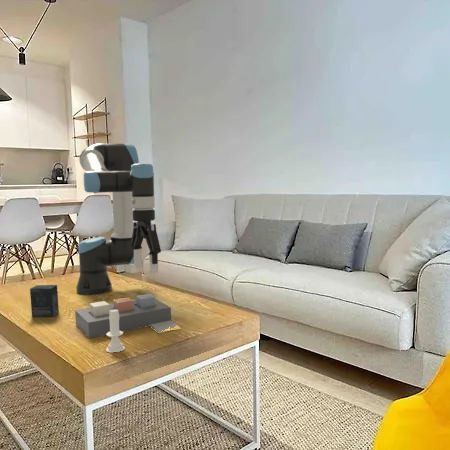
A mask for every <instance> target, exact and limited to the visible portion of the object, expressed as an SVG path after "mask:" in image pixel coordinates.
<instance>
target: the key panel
mask: <svg viewBox="0 0 450 450" xmlns="http://www.w3.org/2000/svg"><path fill="white" fill-rule="evenodd" d="M108 304H109V303H108ZM109 308H110V310H113V309H114V304H113V303H110V304H109ZM74 313H75V315H74V316H75V326H76V327H78V328H79V330H81V332H82V333H83V334H84V335H85V336H86V337H87V338H88V339H93V338H98V337H102V336H107V335H106V334H107V333H108V332H110V320H109V314H106V315H101V316H95V317H93V316H92V315H91V314H90V307H87V308H80V309H75V310H74ZM170 320H172V307H171V306H170V305H168V304H166V303H164V302H162V301H160V300H158V299H156V298H155V306H151V307H145V308H139V307H138V306H136V299H135V300H133V310H128V311H123V312H119V331H122V332H123V333H124V332H128V331H132V330H136V329H141V328H140V327H142V328H146V327H145V326H147V327H150V326H149V325H150V324H155V323H160V322H165V321H170Z"/></svg>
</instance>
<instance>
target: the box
mask: <svg viewBox="0 0 450 450" xmlns="http://www.w3.org/2000/svg"><path fill="white" fill-rule="evenodd" d="M58 293H59V292H58V285H57V284H41V285H40V284H36V285H34V286H33V287H31V288H29V294H30V306H31V308H30V309H31V317H32V318H38V317H40V318H41V317H54V316H55V315H57V314H58V313H60V312H59V311H60V310H59V296H58V295H59V294H58Z"/></svg>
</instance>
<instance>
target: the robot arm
mask: <svg viewBox="0 0 450 450" xmlns="http://www.w3.org/2000/svg"><path fill="white" fill-rule="evenodd" d="M79 164H80V166H81V168H82V169H83V170H84V172H83V188H84V191H85V193H94V194H99V193H112V211H113V212H112V213H113V232H112V234H111V235H110V239H107V238H106V236H105V237H104V236H98V237H92V238H87V239H84V240H82V241H80V242H79V243H78V258H79V259H78V261H79V264H78V265H79V276H78V280H77V285H76V293H78V294H79V295H98V294H99V295H100V294H103V293H107V292H110V291H111V290H112V289H113V284H112V281H111V279H110V277H109V274H108V267H112V266H125V265H127V266H129V265H132V264H133V267H134V269H137V268H143V253H142V252H143V251H142V249H143V247H142V245H143V241H144V239H145V242H146V244H147V248H148V250H149V253H148V255H149V256H148V257H149V258H148V259H149V274H150V275H155V274H158V273H159V259H158V257H159V253H161V252H162V250H161V245H160V241H159V237H158V232H157V226H156V224H155V223H152V221H155V220H156V210H155V209H154V208H155V207H156V205H155V204H156V203H155V183H154V182H155V173H154V166H153V164H151V163H140V161H139V154H138V151H137V148H136V147H135V145H134V144H132V143H103V142H102V143H100V142H99V143H98V142H97V143H94V144H92V145H90V146H87V147H86V148H84V149H83V150H82V151H81V153H80V155H79ZM112 291H113V290H112Z"/></svg>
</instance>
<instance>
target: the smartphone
mask: <svg viewBox="0 0 450 450" xmlns="http://www.w3.org/2000/svg"><path fill="white" fill-rule="evenodd" d="M176 325H178V323H176V322H175V321H173V319H171V320H170V321H165V322H160V323H155V324H150V326H151V327H152V328H153V329H155V330H156V331H157V332H161V331H162V330H163V331H164V330H165V329H168V328H169V327H170V329H171V328H174V327H175V326H176ZM150 326H149V327H150ZM151 327H150V328H151ZM152 328H151V329H152ZM153 329H152V330H153ZM155 330H154V331H155ZM156 331H155V332H156ZM163 331H162V332H163ZM157 332H156V333H157Z"/></svg>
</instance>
